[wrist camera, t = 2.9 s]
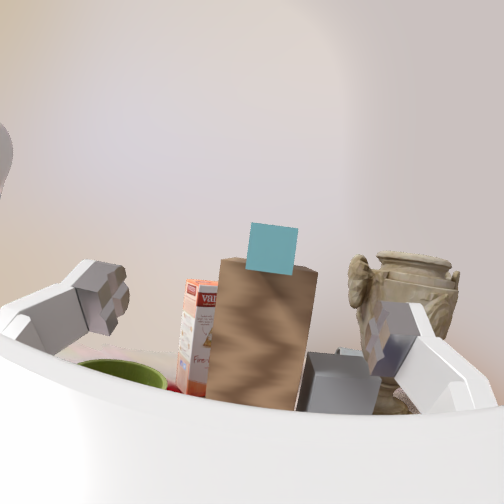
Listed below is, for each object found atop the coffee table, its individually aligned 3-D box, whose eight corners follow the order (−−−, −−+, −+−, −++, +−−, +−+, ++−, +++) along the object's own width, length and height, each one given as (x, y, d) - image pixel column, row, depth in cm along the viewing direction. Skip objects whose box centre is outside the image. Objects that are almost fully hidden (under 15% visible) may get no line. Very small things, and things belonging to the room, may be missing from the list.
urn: (397, 392, 61) (423, 259, 61) (453, 426, 43) (492, 266, 43) (301, 403, 55) (328, 244, 55) (350, 456, 37) (397, 247, 37)
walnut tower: (198, 479, 30) (221, 259, 30) (214, 431, 42) (235, 257, 42) (274, 490, 29) (318, 272, 29) (274, 439, 41) (304, 266, 41)
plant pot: (160, 431, 39) (163, 362, 39) (170, 484, 28) (172, 406, 28) (80, 423, 35) (75, 352, 35) (68, 475, 24) (55, 393, 24)
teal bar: (245, 269, 21) (251, 222, 21) (260, 259, 47) (262, 238, 47) (292, 275, 20) (298, 228, 20) (280, 262, 46) (283, 241, 46)
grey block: (287, 491, 29) (316, 375, 29) (285, 455, 37) (307, 351, 37) (344, 492, 29) (381, 379, 29) (334, 457, 37) (362, 356, 37)
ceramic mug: (368, 385, 66) (375, 354, 66) (334, 383, 66) (341, 352, 66) (357, 370, 76) (363, 343, 76) (327, 368, 77) (332, 340, 77)
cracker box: (187, 400, 51) (198, 283, 50) (174, 386, 56) (184, 277, 55) (253, 391, 59) (268, 287, 58) (237, 379, 64) (250, 282, 63)
